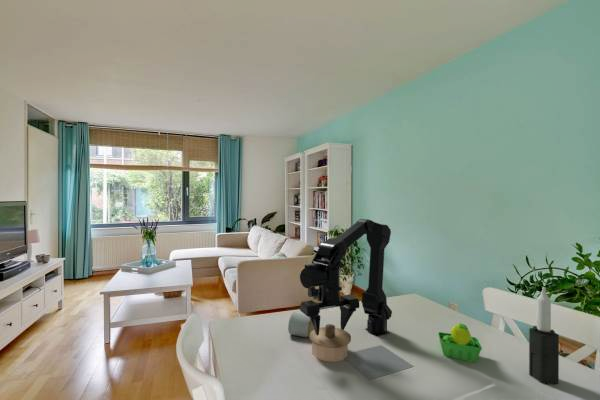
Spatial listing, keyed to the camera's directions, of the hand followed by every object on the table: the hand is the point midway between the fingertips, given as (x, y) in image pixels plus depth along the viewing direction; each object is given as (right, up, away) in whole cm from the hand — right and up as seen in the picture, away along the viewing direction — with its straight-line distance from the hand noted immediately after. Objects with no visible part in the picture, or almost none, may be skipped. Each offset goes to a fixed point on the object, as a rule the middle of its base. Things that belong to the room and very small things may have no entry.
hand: (329, 332), depth 93 cm
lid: (0, -2, 0) cm, 2 cm away
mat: (+13, -7, -5) cm, 16 cm away
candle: (+57, -7, -12) cm, 59 cm away
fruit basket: (+40, -7, -1) cm, 41 cm away
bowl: (0, -7, 0) cm, 7 cm away
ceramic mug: (-9, -7, +14) cm, 18 cm away
